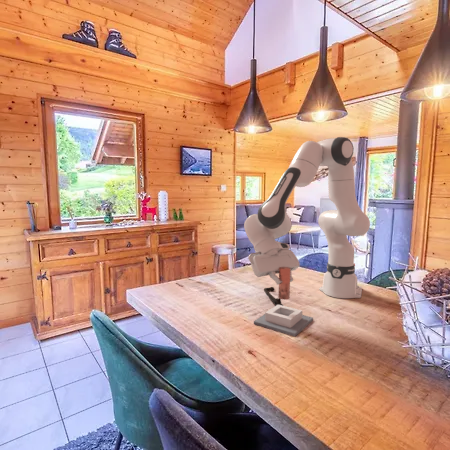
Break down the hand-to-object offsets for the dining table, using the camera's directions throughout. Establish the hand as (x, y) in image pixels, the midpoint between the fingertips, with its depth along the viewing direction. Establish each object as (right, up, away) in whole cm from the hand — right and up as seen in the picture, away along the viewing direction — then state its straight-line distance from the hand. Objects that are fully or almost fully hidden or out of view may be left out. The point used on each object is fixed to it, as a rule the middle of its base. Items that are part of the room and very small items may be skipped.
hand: (285, 282), depth 109 cm
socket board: (0, -15, +2) cm, 15 cm away
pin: (0, -6, +1) cm, 6 cm away
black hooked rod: (0, -13, +23) cm, 27 cm away
